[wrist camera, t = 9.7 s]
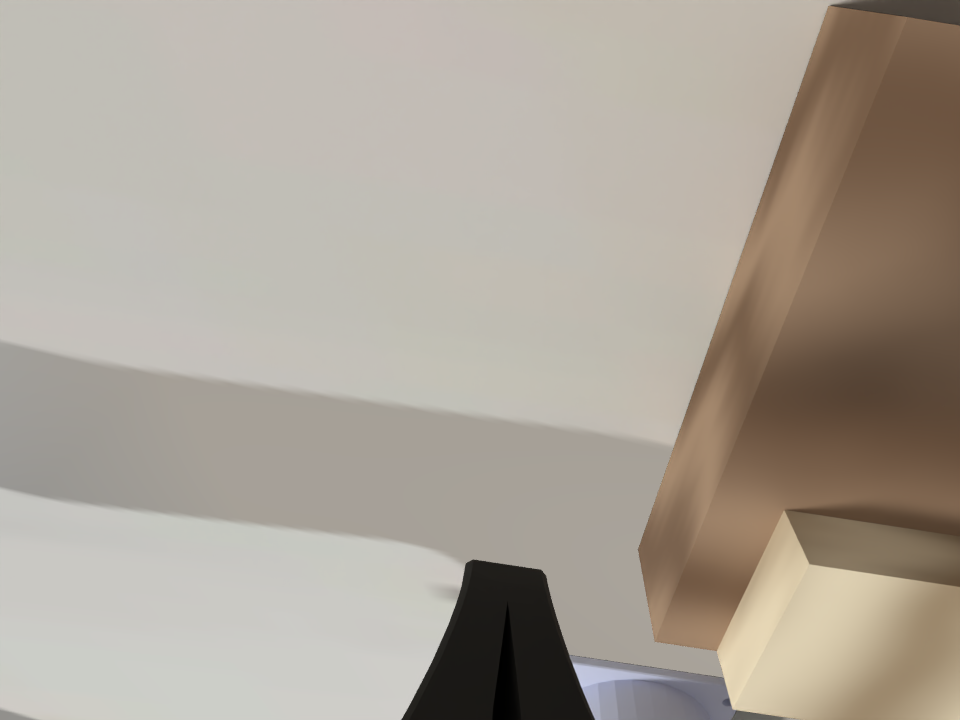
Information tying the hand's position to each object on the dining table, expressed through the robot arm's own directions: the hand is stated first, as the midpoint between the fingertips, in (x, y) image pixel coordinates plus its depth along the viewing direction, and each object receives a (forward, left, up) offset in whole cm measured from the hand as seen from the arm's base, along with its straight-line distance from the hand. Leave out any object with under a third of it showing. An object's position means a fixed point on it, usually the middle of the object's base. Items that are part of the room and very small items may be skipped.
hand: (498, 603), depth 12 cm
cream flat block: (-5, -13, -6) cm, 15 cm away
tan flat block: (+1, -12, -10) cm, 16 cm away
